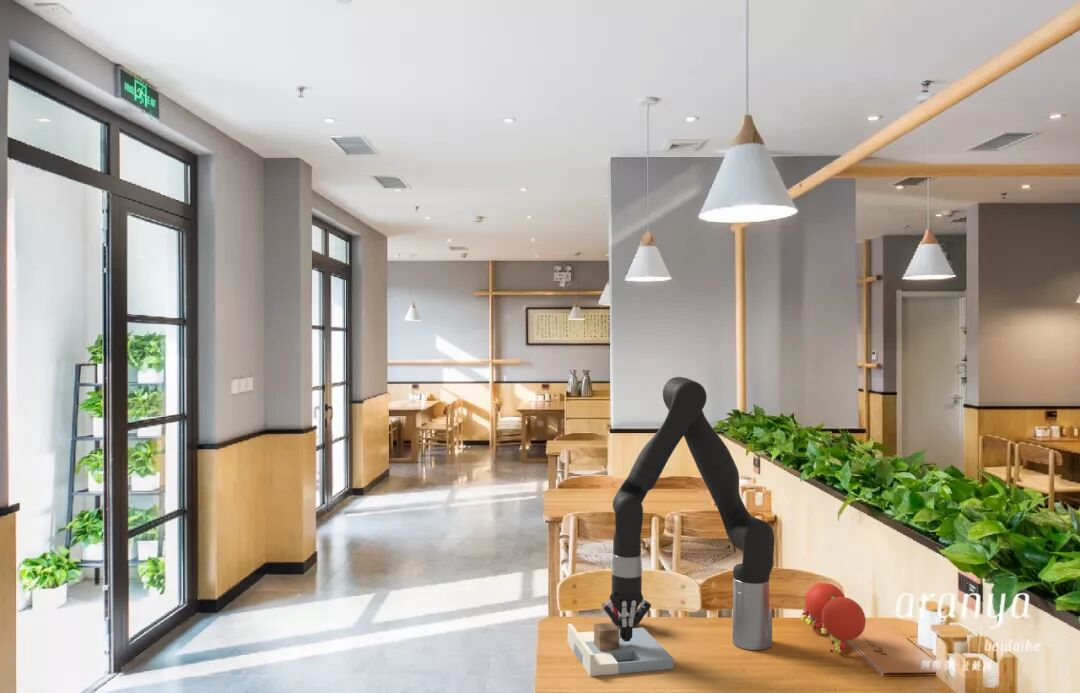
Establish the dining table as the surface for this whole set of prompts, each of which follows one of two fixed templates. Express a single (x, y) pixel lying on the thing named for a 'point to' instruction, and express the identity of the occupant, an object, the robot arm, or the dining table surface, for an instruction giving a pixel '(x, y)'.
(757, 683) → the dining table surface
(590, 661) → the end stop
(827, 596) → the red round cluster
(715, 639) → the dining table surface
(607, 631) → the walnut block
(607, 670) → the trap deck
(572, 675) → the dining table surface
